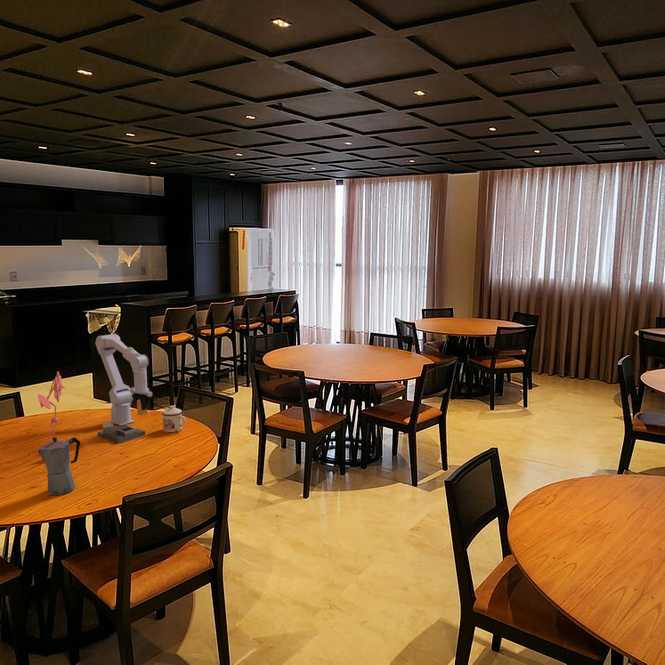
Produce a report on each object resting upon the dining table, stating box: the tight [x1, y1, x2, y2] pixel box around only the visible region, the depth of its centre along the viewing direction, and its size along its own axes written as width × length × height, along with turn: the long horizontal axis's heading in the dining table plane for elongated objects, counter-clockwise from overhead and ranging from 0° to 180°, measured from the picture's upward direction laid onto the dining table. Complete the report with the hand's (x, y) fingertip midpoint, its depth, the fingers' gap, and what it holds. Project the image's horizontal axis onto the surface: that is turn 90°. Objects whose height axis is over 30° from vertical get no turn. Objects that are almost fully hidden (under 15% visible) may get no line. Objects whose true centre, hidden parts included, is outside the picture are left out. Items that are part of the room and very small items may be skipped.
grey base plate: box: [97, 420, 146, 444], centre depth 267 cm, size 16×14×6 cm
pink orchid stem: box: [37, 371, 82, 465], centre depth 242 cm, size 15×26×35 cm, turn 16°
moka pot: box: [36, 436, 81, 496], centre depth 208 cm, size 10×15×20 cm, turn 146°
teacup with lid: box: [161, 405, 187, 433], centre depth 275 cm, size 12×9×12 cm
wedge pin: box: [136, 400, 148, 417], centre depth 277 cm, size 3×3×7 cm
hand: (141, 409), depth 277 cm, fingers closed on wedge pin, 3 cm apart
